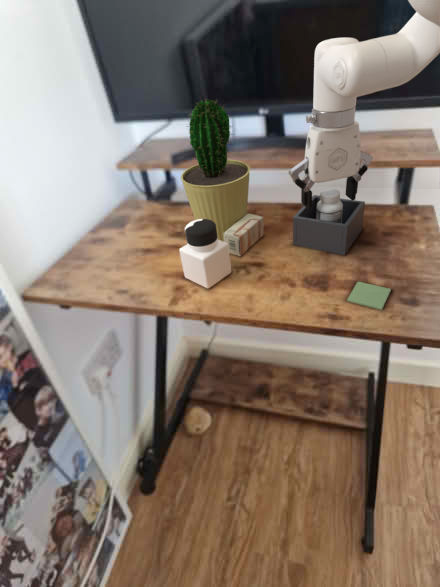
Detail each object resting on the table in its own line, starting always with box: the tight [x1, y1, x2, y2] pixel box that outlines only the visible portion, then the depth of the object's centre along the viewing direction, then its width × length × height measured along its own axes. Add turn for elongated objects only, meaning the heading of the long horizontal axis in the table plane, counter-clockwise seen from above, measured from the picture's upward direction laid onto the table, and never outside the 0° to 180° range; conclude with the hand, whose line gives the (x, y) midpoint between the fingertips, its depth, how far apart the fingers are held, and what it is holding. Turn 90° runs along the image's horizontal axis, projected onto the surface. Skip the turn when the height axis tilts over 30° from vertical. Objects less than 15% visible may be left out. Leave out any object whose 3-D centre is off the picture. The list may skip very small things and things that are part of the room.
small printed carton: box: [223, 212, 265, 257], centre depth 90 cm, size 5×4×10 cm
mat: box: [346, 281, 392, 311], centre depth 72 cm, size 6×6×1 cm
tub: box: [292, 194, 366, 256], centre depth 88 cm, size 12×12×7 cm
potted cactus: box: [180, 98, 251, 242], centre depth 89 cm, size 15×15×30 cm
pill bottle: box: [316, 188, 343, 223], centre depth 86 cm, size 5×5×10 cm
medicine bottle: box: [178, 219, 232, 289], centre depth 80 cm, size 7×7×12 cm
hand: (328, 202), depth 85 cm, fingers open, 9 cm apart
